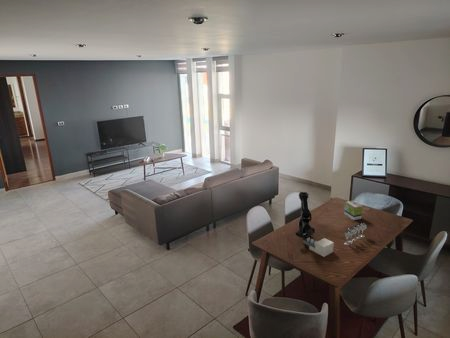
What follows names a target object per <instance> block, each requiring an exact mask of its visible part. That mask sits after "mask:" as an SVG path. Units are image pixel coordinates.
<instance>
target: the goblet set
mask: <svg viewBox="0 0 450 338" xmlns="http://www.w3.org/2000/svg"><path fill="white" fill-rule="evenodd" d="M367 228H368V227H367V224H366V223H364V222H360V224H359V223H358V224H357V225H353V227H350V226H349V227H348V230H345V231H344V237H345V238H346V240H347V241H345V242H344V243H343V244H344V245H345V246H350V244H354V242H357V241H356V240H360V239H361V238H365V235H364V234H363V232H364V230H366V229H367ZM360 231H361V234H360ZM357 232H358V234H357ZM356 234H357V236H355V237H354V238H352V236H354V235H356ZM349 238H351V239H349ZM353 240H354V241H353Z"/></svg>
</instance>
